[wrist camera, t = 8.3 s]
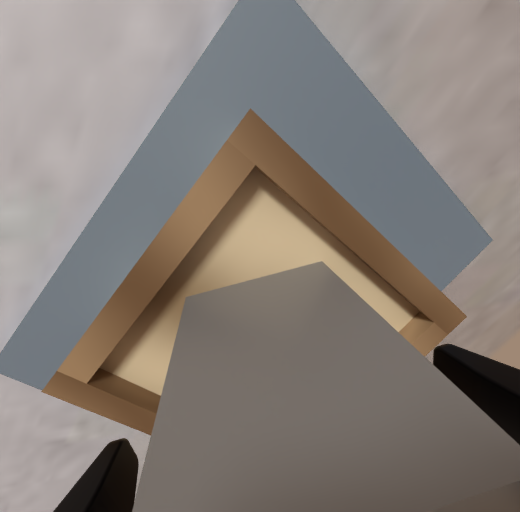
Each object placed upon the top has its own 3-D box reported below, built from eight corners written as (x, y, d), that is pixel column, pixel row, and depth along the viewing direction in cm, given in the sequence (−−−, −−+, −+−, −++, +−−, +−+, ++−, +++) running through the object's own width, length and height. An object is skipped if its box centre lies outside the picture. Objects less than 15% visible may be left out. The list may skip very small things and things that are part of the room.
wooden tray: (239, 127, 10) (250, 107, 7) (403, 278, 14) (466, 316, 10) (93, 326, 12) (41, 391, 9) (270, 415, 16) (285, 488, 12)
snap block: (321, 260, 10) (657, 574, 2) (337, 367, 11) (555, 737, 4) (185, 296, 9) (61, 796, 2) (223, 400, 11) (231, 868, 4)
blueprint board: (260, -22, 10) (264, -37, 9) (478, 236, 15) (492, 240, 14) (2, 357, 13) (-11, 369, 12) (253, 462, 18) (255, 475, 17)
